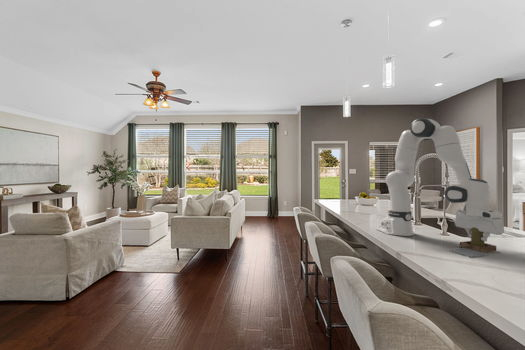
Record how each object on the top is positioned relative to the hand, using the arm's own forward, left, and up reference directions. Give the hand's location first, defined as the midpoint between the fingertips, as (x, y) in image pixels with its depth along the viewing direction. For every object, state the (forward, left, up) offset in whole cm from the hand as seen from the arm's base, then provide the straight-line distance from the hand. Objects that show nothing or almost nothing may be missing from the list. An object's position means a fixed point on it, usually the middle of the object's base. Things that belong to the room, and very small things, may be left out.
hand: (477, 239), depth 126 cm
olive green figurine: (0, 0, -5) cm, 5 cm away
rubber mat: (+3, -11, -5) cm, 12 cm away
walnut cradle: (0, 0, -5) cm, 5 cm away
